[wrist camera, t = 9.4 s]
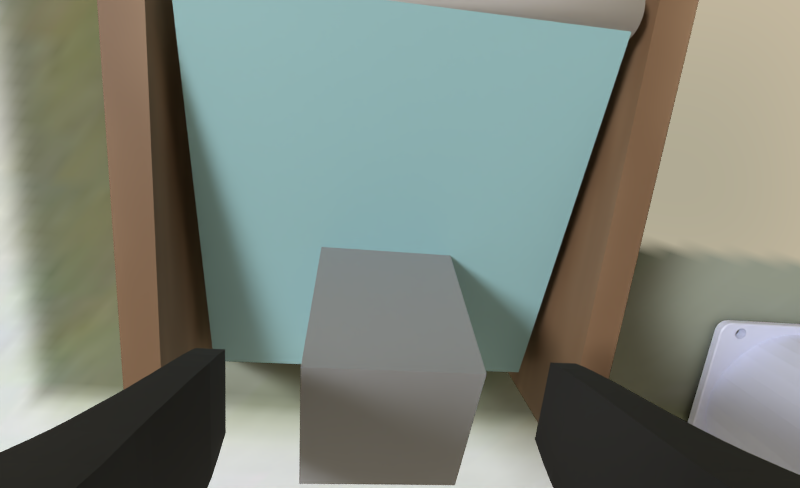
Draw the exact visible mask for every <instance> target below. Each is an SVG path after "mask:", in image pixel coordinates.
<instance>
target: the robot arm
mask: <svg viewBox="0 0 800 488" xmlns="http://www.w3.org/2000/svg"><path fill="white" fill-rule="evenodd" d="M737 330H739V331H738V333H737V334H735V333H736V332H737ZM224 436H225V349H207V348H194V349H192V350H190V351H188V352H186V353H185V354H183V355H181V356H179V357H178V358H176V359H174V360H173V361H171V362H169V363H168V364H166V365H164V366H163V367H161V368H159V369H158V370H156V371H154V372H153V373H151V374H149V375H148V376H146V377H144V378H143V379H141V380H139V381H138V382H136V383H134V384H133V385H131V386H129V387H128V388H126V389H124V390H122V391H121V392H119V393H117V394H116V395H114V396H112V397H110V398H108V399H106V400H105V401H103V402H101V403H99V404H97V405H95V406H93V407H92V408H90V409H88V410H86V411H84V412H82V413H81V414H79V415H77V416H75V417H73V418H71V419H70V420H68V421H66V422H64V423H62V424H60V425H58V426H56V427H54V428H52V429H50V430H48V431H46V432H44V433H42V434H40V435H38V436H35V437H33V438H31V439H29V440H27V441H25V442H22V443H20V444H18V445H16V446H14V447H11V448H9V449H7V450H5V451H3V452H0V488H207V487H208V485H209V482H210V480H211V478H212V475H213V471H214V468H215V465H216V462H217V459H218V456H219V453H220V449H221V446H222V443H223V439H224ZM535 440H536V443H537V446H538V449H539V452H540V455H541V458H542V460H543V463H544V466H545V468H546V471H547V474H548V476H549V479H550V481H551V483H552V485H553V487H554V488H800V324H792V323H773V322H755V321H736V320H725V321H722V322H720V323H719V324H718V325H717V326H716V328H715V331H714V335H713V338H712V341H711V345H710V348H709V352H708V355H707V358H706V362H705V365H704V369H703V372H702V375H701V379H700V382H699V385H698V389H697V392H696V396H695V399H694V402H693V406H692V409H691V412H690V416H689V419H688V422H686V421H684V420H682V419H680V418H678V417H676V416H674V415H672V414H671V413H669V412H667V411H665V410H663V409H661V408H660V407H658V406H656V405H654V404H652V403H651V402H649V401H647V400H645V399H643V398H642V397H640V396H638V395H636V394H634V393H633V392H631V391H629V390H627V389H625V388H624V387H622V386H620V385H618V384H616V383H615V382H613V381H611V380H609V379H607V378H605V377H604V376H602V375H600V374H598V373H596V372H594V371H592V370H590V369H588V368H586V367H583V366H581V365H578V364H576V363H552V362H550V367H549V372H548V377H547V382H546V387H545V392H544V397H543V402H542V407H541V412H540V417H539V422H538V427H537V432H536V437H535Z"/></svg>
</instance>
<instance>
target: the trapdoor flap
mask: <svg viewBox="0 0 800 488" xmlns="http://www.w3.org/2000/svg"><path fill="white" fill-rule="evenodd" d="M172 3H173V11H174V20H175V29H176V37H177V46H178V55H179V63H180V72H181V80H182V89H183V98H184V106H185V115H186V124H187V132H188V141H189V150H190V158H191V167H192V175H193V184H194V193H195V201H196V210H197V219H198V227H199V236H200V245H201V253H202V262H203V271H204V279H205V288H206V296H207V305H208V314H209V322H210V331H211V340H212V348H213V349H225V361H233V362H260V363H286V364H301V363H302V357H303V351H304V345H305V339H306V333H307V328H308V322H309V316H310V310H311V304H312V299H313V293H314V287H315V281H316V275H317V269H318V264H319V258H320V252H321V247H331V248H346V249H361V250H376V251H391V252H406V253H421V254H436V255H450V257H451V260H452V263H453V266H454V270H455V273H456V276H457V279H458V283H459V286H460V289H461V292H462V296H463V299H464V302H465V305H466V309H467V312H468V315H469V318H470V322H471V325H472V328H473V331H474V335H475V338H476V341H477V344H478V348H479V351H480V354H481V358H482V361H483V364H484V367H485V371H499V372H519V369H520V366H521V363H522V360H523V357H524V354H525V351H526V348H527V345H528V342H529V339H530V336H531V333H532V330H533V327H534V324H535V321H536V318H537V315H538V312H539V309H540V306H541V303H542V300H543V297H544V294H545V291H546V288H547V285H548V282H549V279H550V276H551V273H552V270H553V267H554V264H555V261H556V258H557V255H558V252H559V249H560V246H561V243H562V240H563V237H564V234H565V231H566V228H567V225H568V222H569V219H570V216H571V213H572V210H573V207H574V203H575V200H576V197H577V194H578V191H579V188H580V185H581V182H582V179H583V176H584V173H585V170H586V167H587V164H588V161H589V158H590V155H591V152H592V149H593V146H594V143H595V140H596V137H597V134H598V131H599V128H600V125H601V122H602V119H603V116H604V113H605V110H606V107H607V104H608V101H609V98H610V95H611V92H612V89H613V86H614V83H615V80H616V77H617V74H618V71H619V68H620V65H621V62H622V59H623V56H624V53H625V50H626V47H627V44H628V41H629V39H630V38H631V37H632V36H633V35H634V33H635V32H636V30H637V29H638V27H639V25H640V23H641V20H642V17H643V14H644V10H645V0H172Z"/></svg>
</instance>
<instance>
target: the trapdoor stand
mask: <svg viewBox="0 0 800 488" xmlns="http://www.w3.org/2000/svg"><path fill="white" fill-rule="evenodd" d="M698 1H699V0H645V10H644V14H643V17H642V20H641V23H640V25H639V27H638V29H637V30H636V32H635V33H634V35H633V36H632V37H631V38H630V39H629V41H628V44H627V47H626V50H625V53H624V56H623V59H622V62H621V65H620V68H619V71H618V74H617V77H616V80H615V83H614V86H613V89H612V92H611V95H610V98H609V101H608V104H607V107H606V110H605V113H604V116H603V119H602V122H601V125H600V128H599V131H598V134H597V137H596V140H595V143H594V146H593V149H592V152H591V155H590V158H589V161H588V164H587V167H586V170H585V173H584V176H583V179H582V182H581V185H580V188H579V191H578V194H577V197H576V200H575V203H574V207H573V210H572V213H571V216H570V219H569V222H568V225H567V228H566V231H565V234H564V237H563V240H562V243H561V246H560V249H559V252H558V255H557V258H556V261H555V264H554V267H553V270H552V273H551V276H550V279H549V282H548V285H547V288H546V291H545V294H544V297H543V300H542V303H541V306H540V309H539V312H538V315H537V318H536V321H535V324H534V327H533V330H532V333H531V336H530V339H529V342H528V345H527V348H526V351H525V354H524V357H523V360H522V363H521V366H520V369H519V372H508V373H509V375H510V377H511V378H512V380H513V382H514V383H515V385H516V387H517V388H518V390H519V392H520V393H521V395H522V397H523V398H524V400H525V402H526V403H527V405H528V407H529V408H530V410H531V412H532V413H533V415H534V417H535V418H536V420H537V422H539V417H540V412H541V407H542V402H543V397H544V392H545V387H546V382H547V377H548V372H549V367H550V362H552V363H576V364H578V365H581V366H583V367H586V368H588V369H590V370H592V371H594V372H596V373H598V374H600V375H602V376H604V377H605V378H607V379H609V375H610V371H611V367H612V363H613V358H614V354H615V350H616V346H617V342H618V337H619V333H620V329H621V325H622V321H623V316H624V312H625V308H626V304H627V300H628V295H629V291H630V287H631V283H632V279H633V274H634V270H635V266H636V262H637V258H638V253H639V249H640V245H641V241H642V236H643V232H644V228H645V224H646V220H647V215H648V211H649V207H650V203H651V199H652V194H653V190H654V186H655V182H656V177H657V173H658V169H659V165H660V161H661V157H662V152H663V148H664V144H665V140H666V136H667V131H668V127H669V123H670V119H671V115H672V110H673V106H674V102H675V98H676V93H677V89H678V84H679V81H680V77H681V73H682V68H683V64H684V60H685V56H686V52H687V47H688V43H689V39H690V35H691V31H692V26H693V22H694V18H695V14H696V10H697V5H698ZM97 6H98V21H99V35H100V50H101V65H102V79H103V94H104V109H105V123H106V138H107V153H108V167H109V182H110V197H111V211H112V226H113V241H114V256H115V270H116V285H117V300H118V314H119V329H120V344H121V358H122V373H123V388H124V389H126V388H128V387H129V386H131V385H133V384H134V383H136V382H138V381H139V380H141V379H143V378H144V377H146V376H148V375H149V374H151V373H153V372H154V371H156V370H158V369H159V368H161V367H163V366H164V365H166V364H168V363H169V362H171V361H173V360H174V359H176V358H178V357H179V356H181V355H183V354H185V353H186V352H188V351H190V350H192V349H194V348H207V349H213V348H212V340H211V331H210V322H209V314H208V305H207V296H206V288H205V279H204V271H203V262H202V253H201V245H200V236H199V227H198V219H197V210H196V201H195V193H194V184H193V175H192V167H191V158H190V150H189V141H188V132H187V124H186V115H185V106H184V98H183V89H182V80H181V72H180V63H179V55H178V46H177V37H176V29H175V20H174V11H173V3H172V0H97Z"/></svg>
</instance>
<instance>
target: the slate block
mask: <svg viewBox="0 0 800 488" xmlns="http://www.w3.org/2000/svg"><path fill="white" fill-rule="evenodd" d="M485 378H486V371H485V367H484V364H483V361H482V358H481V354H480V351H479V348H478V344H477V341H476V338H475V335H474V331H473V328H472V325H471V322H470V318H469V315H468V312H467V309H466V305H465V302H464V299H463V296H462V292H461V289H460V286H459V283H458V279H457V276H456V273H455V270H454V266H453V263H452V260H451V257H450V255H436V254H421V253H406V252H391V251H376V250H361V249H346V248H331V247H321V252H320V258H319V264H318V269H317V275H316V281H315V287H314V293H313V299H312V304H311V310H310V316H309V322H308V328H307V333H306V339H305V345H304V351H303V357H302V363H301V388H300V476H299V484H404V485H455V482H456V479H457V475H458V472H459V469H460V465H461V462H462V458H463V455H464V451H465V448H466V444H467V441H468V437H469V434H470V430H471V427H472V423H473V420H474V416H475V413H476V409H477V406H478V402H479V399H480V395H481V392H482V388H483V385H484V381H485Z"/></svg>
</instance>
